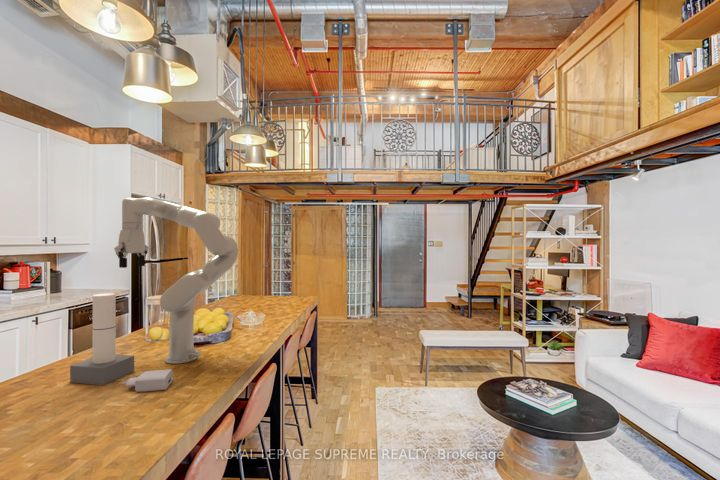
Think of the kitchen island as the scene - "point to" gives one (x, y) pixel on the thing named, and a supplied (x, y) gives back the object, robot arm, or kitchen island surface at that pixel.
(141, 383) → the charger
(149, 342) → the kitchen island surface
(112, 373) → the charcoal block
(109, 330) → the cylindrical container
